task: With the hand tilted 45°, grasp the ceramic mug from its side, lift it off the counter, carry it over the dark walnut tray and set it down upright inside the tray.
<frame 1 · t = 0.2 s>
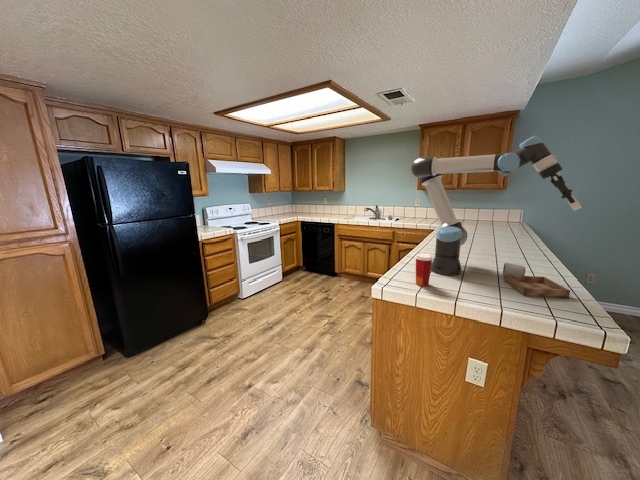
hand: (577, 207, 112), 35 cm above the worktop, tool tilted 35°, fingers open, 13 cm apart
paper cup: (421, 284, 121), on the worktop
tray: (534, 289, 113), on the worktop
ceramic mug: (511, 278, 127), on the worktop
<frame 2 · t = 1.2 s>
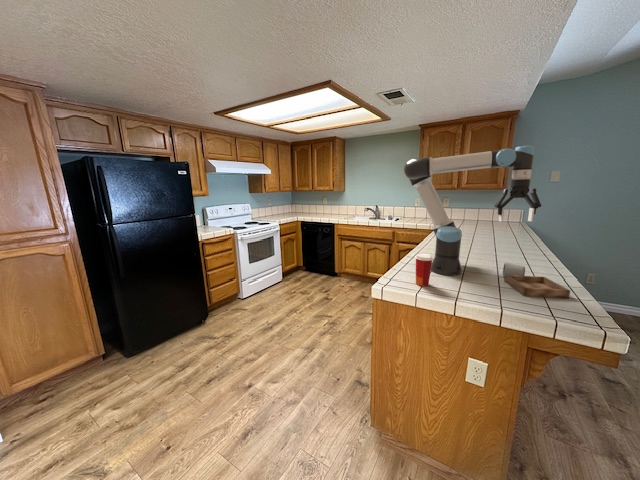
hand: (515, 221, 131), 27 cm above the worktop, tool pointing down, fingers open, 13 cm apart
nothing on the worktop moved.
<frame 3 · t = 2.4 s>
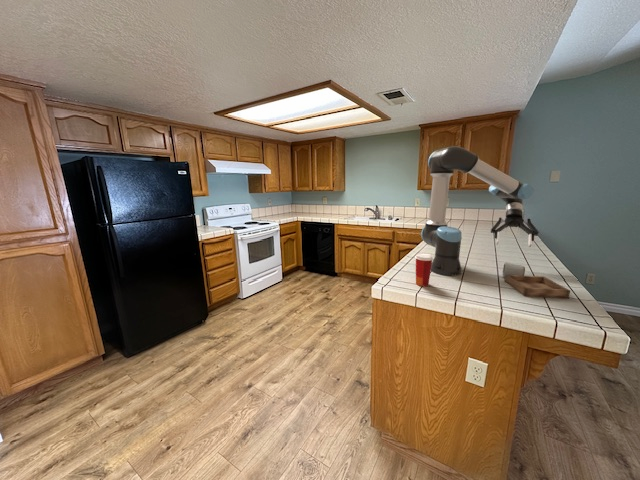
hand: (513, 244, 133), 15 cm above the worktop, tool tilted 45°, fingers open, 13 cm apart
nothing on the worktop moved.
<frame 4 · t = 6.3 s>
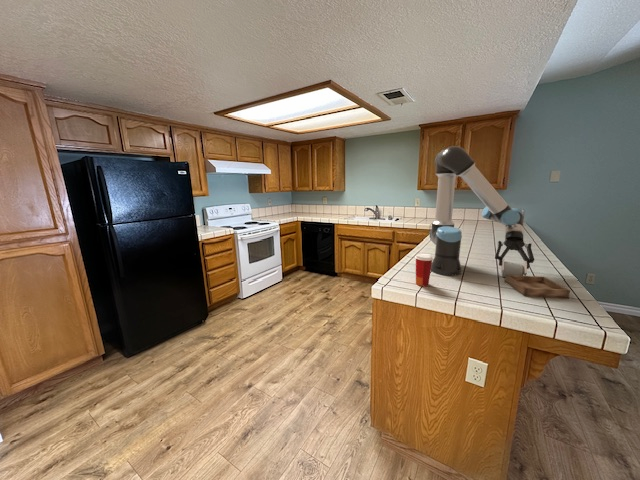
hand: (513, 272, 123), 4 cm above the worktop, tool tilted 45°, fingers closed on ceramic mug, 8 cm apart
ceramic mug: (510, 277, 128), on the worktop, touching gripper
everything else where it was.
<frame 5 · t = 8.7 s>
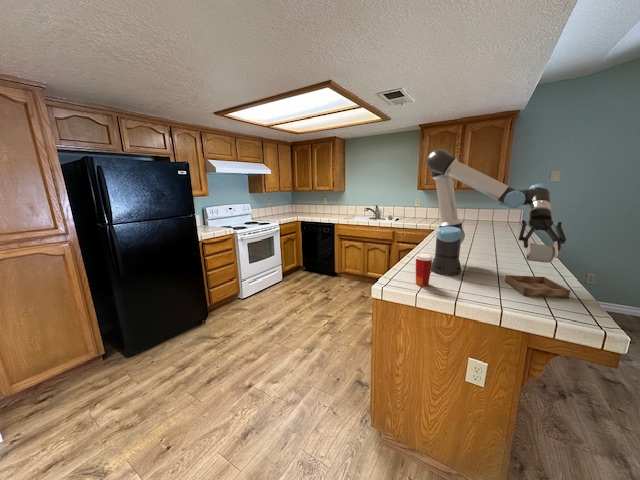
hand: (542, 255, 107), 17 cm above the worktop, tool tilted 45°, fingers closed on ceramic mug, 8 cm apart
ceramic mug: (536, 261, 112), point 13 cm above the worktop, touching gripper
everything else where it was.
when the fingers open (6 cm above the worktop, at t = 11.1 s): ceramic mug drops 1 cm, resting on tray.
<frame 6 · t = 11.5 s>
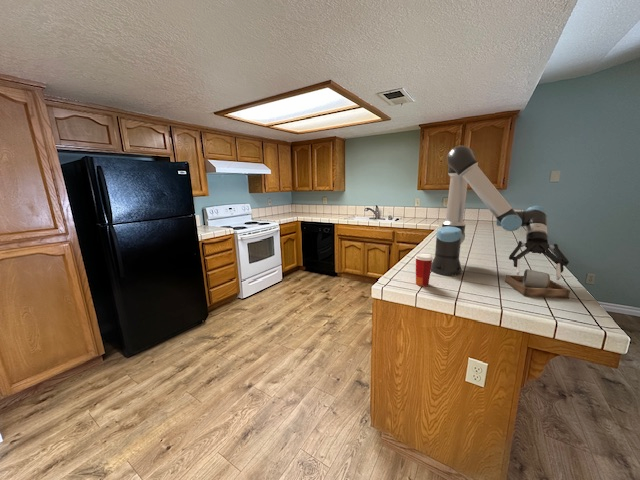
hand: (537, 275, 109), 7 cm above the worktop, tool tilted 45°, fingers open, 13 cm apart
ceramic mug: (532, 286, 114), point 1 cm above the worktop, touching tray
everything else where it was.
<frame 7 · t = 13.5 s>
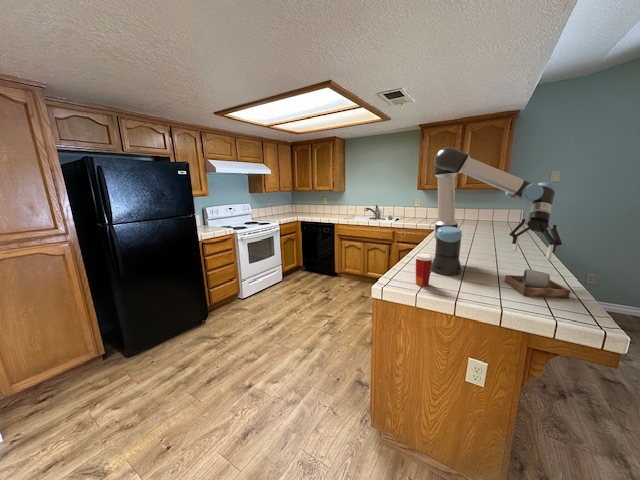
hand: (531, 254, 122), 13 cm above the worktop, tool tilted 30°, fingers open, 13 cm apart
nothing on the worktop moved.
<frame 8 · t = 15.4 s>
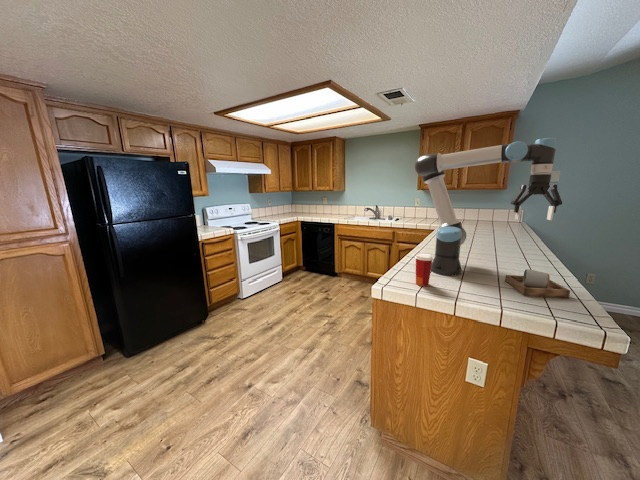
hand: (533, 219, 123), 29 cm above the worktop, tool pointing down, fingers open, 13 cm apart
nothing on the worktop moved.
at the end: ceramic mug inside the target area on the tray (1.7 cm from its centre), point 0.8 cm above the tray's base; ceramic mug tilted 0°; the gripper is holding nothing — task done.
